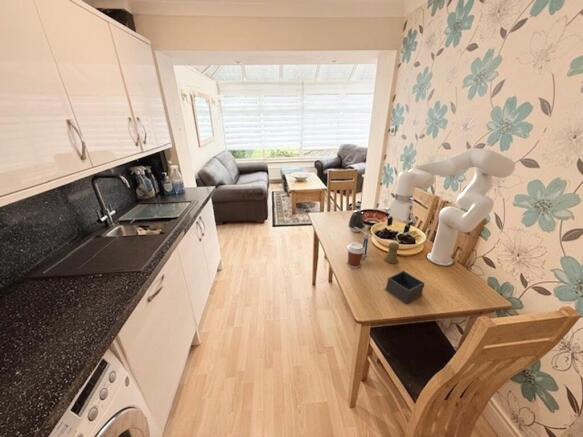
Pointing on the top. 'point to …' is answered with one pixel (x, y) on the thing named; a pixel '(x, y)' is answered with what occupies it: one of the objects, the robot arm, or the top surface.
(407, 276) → the bin
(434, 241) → the robot arm
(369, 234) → the alien figure
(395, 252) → the olive flared cylinder
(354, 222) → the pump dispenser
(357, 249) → the coffee cup
